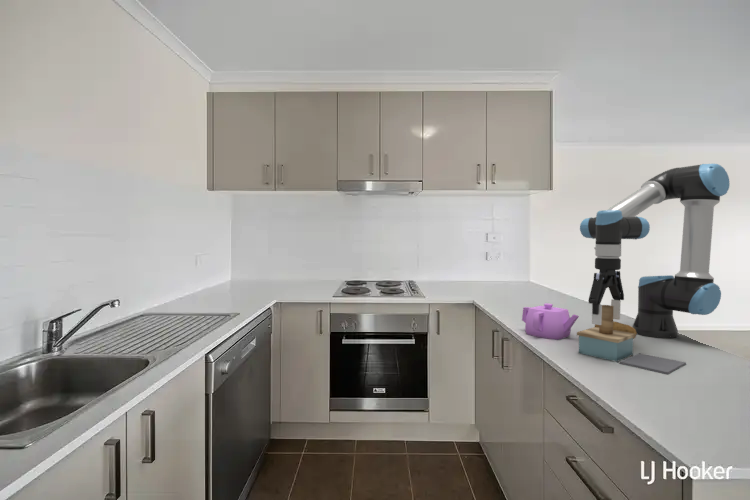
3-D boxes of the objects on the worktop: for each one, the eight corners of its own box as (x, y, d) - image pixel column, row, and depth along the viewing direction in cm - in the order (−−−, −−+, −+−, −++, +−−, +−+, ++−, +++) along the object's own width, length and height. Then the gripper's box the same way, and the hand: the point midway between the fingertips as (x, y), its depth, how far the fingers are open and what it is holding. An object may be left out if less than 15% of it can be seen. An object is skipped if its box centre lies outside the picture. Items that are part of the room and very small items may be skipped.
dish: (595, 347, 154) (596, 330, 154) (632, 354, 144) (633, 336, 144) (578, 353, 146) (579, 335, 146) (616, 361, 137) (617, 342, 137)
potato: (627, 350, 150) (628, 326, 150) (588, 341, 162) (589, 319, 162) (642, 346, 155) (643, 323, 155) (603, 337, 167) (604, 317, 167)
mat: (639, 354, 144) (639, 353, 144) (686, 364, 134) (686, 362, 134) (619, 363, 135) (619, 361, 135) (667, 374, 125) (667, 372, 125)
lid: (595, 329, 154) (595, 301, 154) (635, 336, 144) (636, 306, 144) (576, 335, 146) (577, 305, 146) (617, 343, 136) (618, 310, 136)
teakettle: (519, 329, 181) (520, 300, 180) (561, 330, 180) (562, 300, 180) (533, 340, 164) (533, 307, 163) (579, 340, 163) (580, 307, 163)
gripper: (612, 255, 155) (611, 315, 156) (577, 258, 139) (576, 324, 140) (636, 256, 149) (634, 318, 150) (601, 259, 133) (600, 328, 134)
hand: (606, 321), depth 145 cm, fingers open, 13 cm apart
